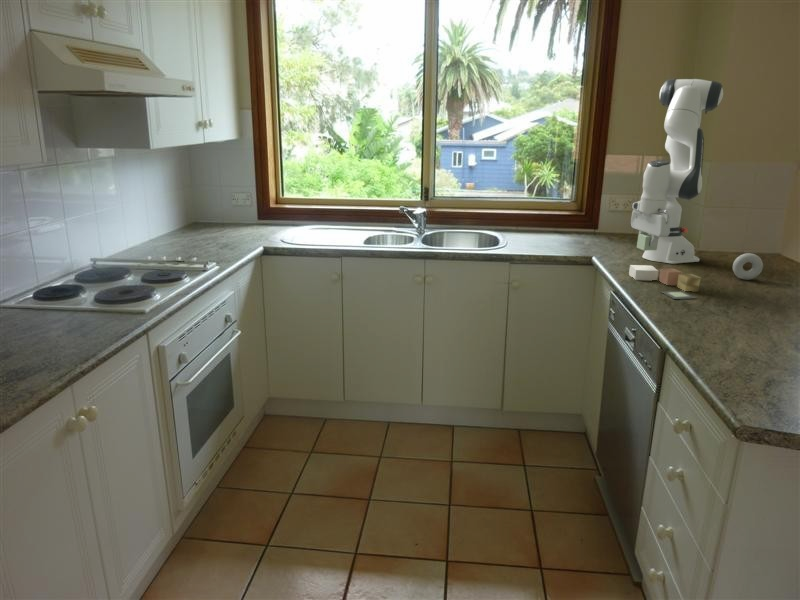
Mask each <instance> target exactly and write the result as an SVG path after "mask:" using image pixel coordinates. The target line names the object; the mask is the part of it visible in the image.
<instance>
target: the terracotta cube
mask: <svg viewBox="0 0 800 600" xmlns="http://www.w3.org/2000/svg"><path fill="white" fill-rule="evenodd" d="M679 274H682V271H681V270H678V269H676V268H660V271H659V275H658V277H659V278H658V282H659V281H660V282H662V283H664V284H666V285H671V286H677V283H678V276H679ZM660 282H659V283H660ZM662 283H661V284H662ZM664 284H663V285H664ZM666 285H665V286H666Z"/></svg>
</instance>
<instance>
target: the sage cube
mask: <svg viewBox="0 0 800 600" xmlns="http://www.w3.org/2000/svg"><path fill="white" fill-rule="evenodd" d="M651 240H652V234H648V233H645V234H639V233H638V235H637V242H636V248H637V249H639V250H642V251H646V250H657V244H658V240H657V242H656V246H655V247H651V246H649V241H651Z"/></svg>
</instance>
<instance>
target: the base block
mask: <svg viewBox="0 0 800 600" xmlns="http://www.w3.org/2000/svg"><path fill="white" fill-rule="evenodd" d="M628 271H629V272H628V275H629V277H631V278H632V277H633V278H634V279H635V280H634V279H633V278H632V279H633V280H634V281H652V280H657V281H658V280H659V278H658V277H659V273H660V271H659V270H658V269H656V267H654V266H653V265H645V264H643V265H641V264H640V265H639V264H629V270H628Z"/></svg>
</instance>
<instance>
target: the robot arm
mask: <svg viewBox="0 0 800 600" xmlns="http://www.w3.org/2000/svg"><path fill="white" fill-rule="evenodd" d="M658 96H659V103H660V104H661V105H662V106H664V107H666V108H667V110H666V114H665V118H664V124H663V128H664V131H665V133H666V134H667V136H666V140H665V144H664V148H665V151H666V152H667V153H668V154H669V158H670V162H669V161H666V160H660V159H659V160H652V161H649V162H648V163H647V165H646V168H645V171H644V172H643V176H642V179H643V180H642V193H641V196H640V200H638V201H635V202H633V203H632V205H631V206H632V212H631V217H630V225H631V228H632V229H635V230H638V234H652V240H651V241H649V246H651V247H655V246H656V242H657V240H658V244H657V250H646V251H644V250H643V251H644V252H643V254H642V256H641V257H642V258H643V259H645V260H648V261H652V262H658V263H667V264H673V265H674V264H683V263H695V262H696V263H697V262H700V258H699V257H698V256H696V255H695V247H694V245H693V244H692V243H691V242H690V241H689V240H688V239H687V238H685V237H684V236H683V233H684V234H687V233H688V232H689V229H688V228H687V227H682V226H680V225H681V218H682V211H683V210H682V209H683V207H682V205H681V204H680V203H679V202H678V200H677V199H683V200H688V201H690V200H692V199H694V198H696V197H697V196H699V195H700V193H701V192H702V188H703V162H704V160H703V159H704V151H705V150H704V149H705V147H704V146H705V138H704V137H705V136H704V131H703V129H702V128H700V126H701V122H702V112H703V111H704V115H706V114H708V112H711V111H714V110H715V109H716V108H717V107H718V106H719V105H720V103H721V102H722V100H723V97H724V89H723V84H722V83H721V82H719V81H715V80H711V81H710V80H707V79H700V78H691V79H690V78H678V79H677V78H669V79H667V80H666V81H664V82H663V84H662V86H661V87H660V90H659V95H658Z"/></svg>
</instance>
